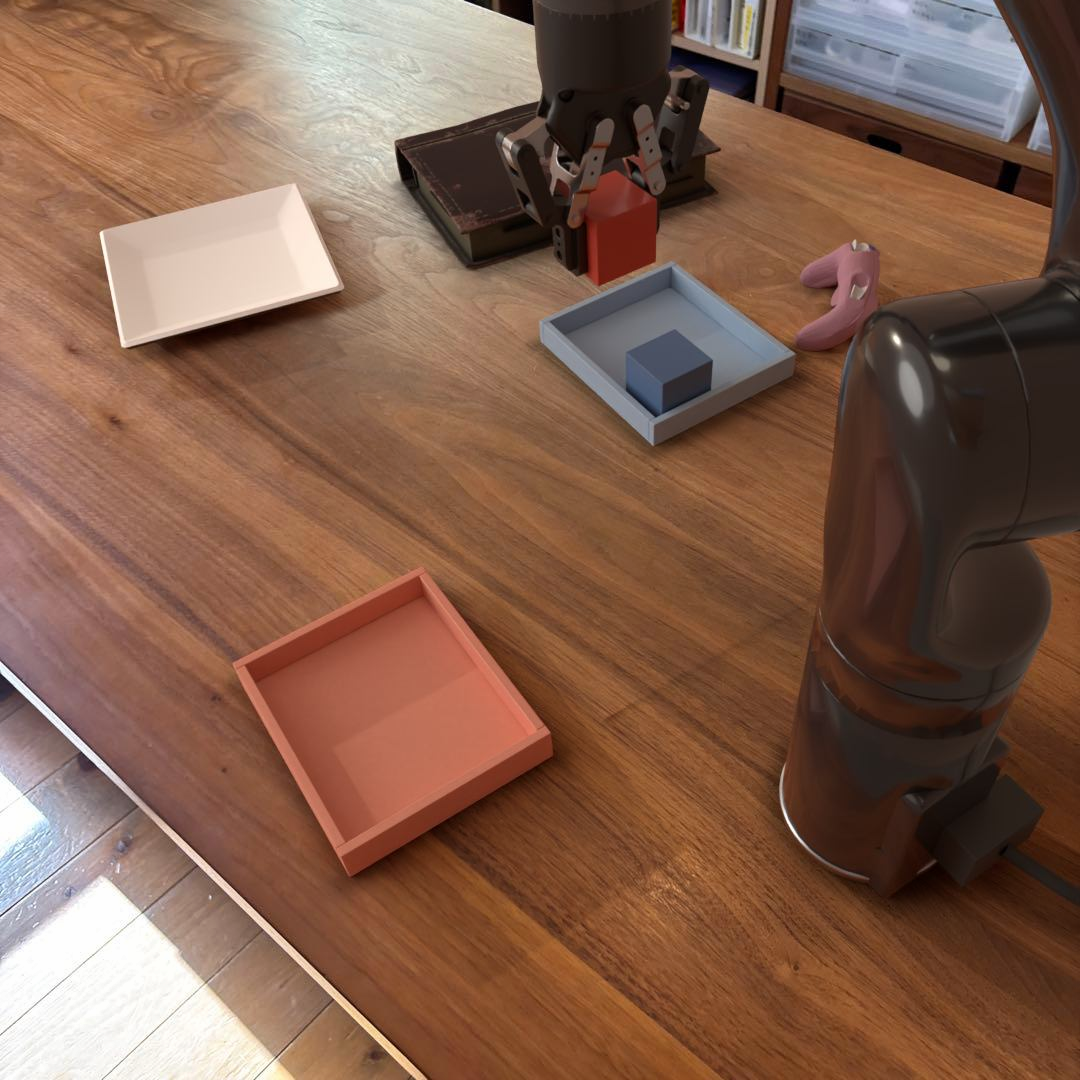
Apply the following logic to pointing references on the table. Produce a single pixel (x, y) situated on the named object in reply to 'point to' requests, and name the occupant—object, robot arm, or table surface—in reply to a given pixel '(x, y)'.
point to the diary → (502, 186)
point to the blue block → (667, 372)
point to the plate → (216, 265)
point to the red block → (619, 228)
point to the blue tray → (648, 312)
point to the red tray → (391, 717)
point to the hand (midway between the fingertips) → (608, 254)
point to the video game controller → (841, 294)
